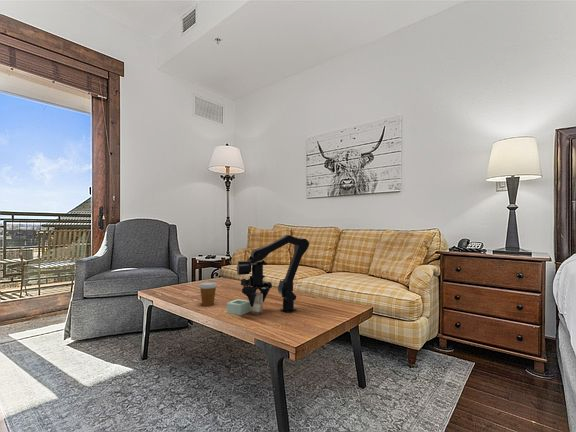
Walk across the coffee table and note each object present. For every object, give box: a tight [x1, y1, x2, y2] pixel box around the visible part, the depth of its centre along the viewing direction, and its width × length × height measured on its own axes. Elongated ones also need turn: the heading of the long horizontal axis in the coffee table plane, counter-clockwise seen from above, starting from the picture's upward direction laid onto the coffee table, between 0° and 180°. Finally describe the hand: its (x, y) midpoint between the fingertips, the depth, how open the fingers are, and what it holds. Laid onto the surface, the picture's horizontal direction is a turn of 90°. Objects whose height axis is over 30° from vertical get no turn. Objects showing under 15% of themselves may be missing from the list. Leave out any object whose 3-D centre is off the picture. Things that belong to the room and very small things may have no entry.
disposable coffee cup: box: [199, 281, 218, 307], centre depth 173 cm, size 10×10×12 cm
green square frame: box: [226, 298, 253, 316], centre depth 159 cm, size 9×9×5 cm
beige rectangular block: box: [251, 292, 264, 316], centre depth 156 cm, size 4×4×10 cm
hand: (257, 304), depth 156 cm, fingers open, 9 cm apart
